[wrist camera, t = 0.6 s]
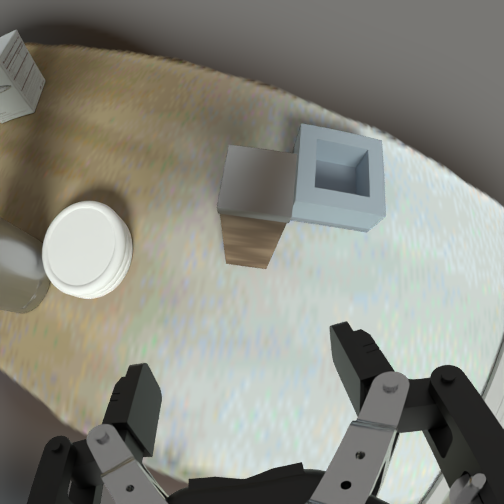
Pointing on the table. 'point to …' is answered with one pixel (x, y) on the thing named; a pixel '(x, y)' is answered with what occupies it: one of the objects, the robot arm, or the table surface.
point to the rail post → (255, 203)
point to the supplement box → (17, 78)
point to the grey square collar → (338, 179)
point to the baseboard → (500, 403)
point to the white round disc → (87, 250)
